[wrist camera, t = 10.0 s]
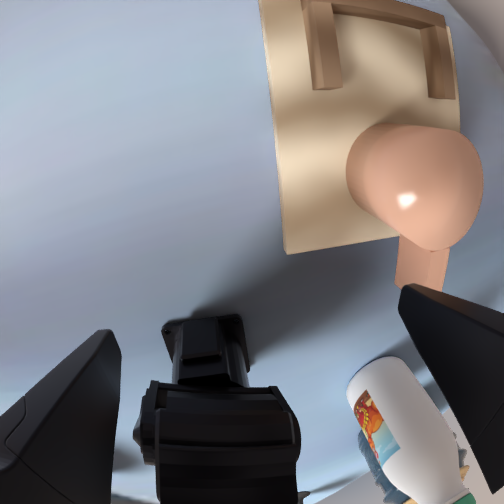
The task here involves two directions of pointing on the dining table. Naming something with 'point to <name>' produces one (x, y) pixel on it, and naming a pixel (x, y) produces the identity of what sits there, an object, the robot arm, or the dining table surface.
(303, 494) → the sundae
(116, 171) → the dining table surface
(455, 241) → the peach dome with handle
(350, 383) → the milk bottle
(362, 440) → the canister
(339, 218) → the cradle
